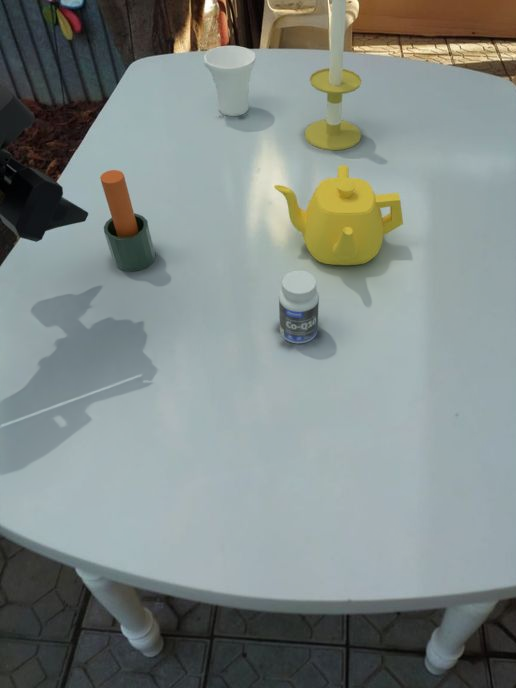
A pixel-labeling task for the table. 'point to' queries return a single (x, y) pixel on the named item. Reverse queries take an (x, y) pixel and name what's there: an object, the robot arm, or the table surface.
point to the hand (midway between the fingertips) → (64, 199)
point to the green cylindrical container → (131, 246)
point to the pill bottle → (298, 307)
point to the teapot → (344, 219)
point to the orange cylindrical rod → (119, 203)
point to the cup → (231, 77)
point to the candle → (334, 91)
